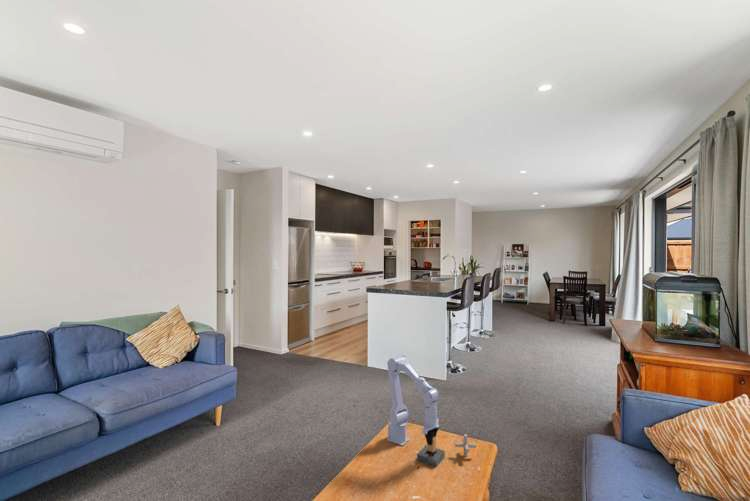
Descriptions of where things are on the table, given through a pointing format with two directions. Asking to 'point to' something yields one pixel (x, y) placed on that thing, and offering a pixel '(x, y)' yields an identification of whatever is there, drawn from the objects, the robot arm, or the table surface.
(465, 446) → the pipe connector
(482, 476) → the table surface
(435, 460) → the grey square frame
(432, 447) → the tan wooden block
